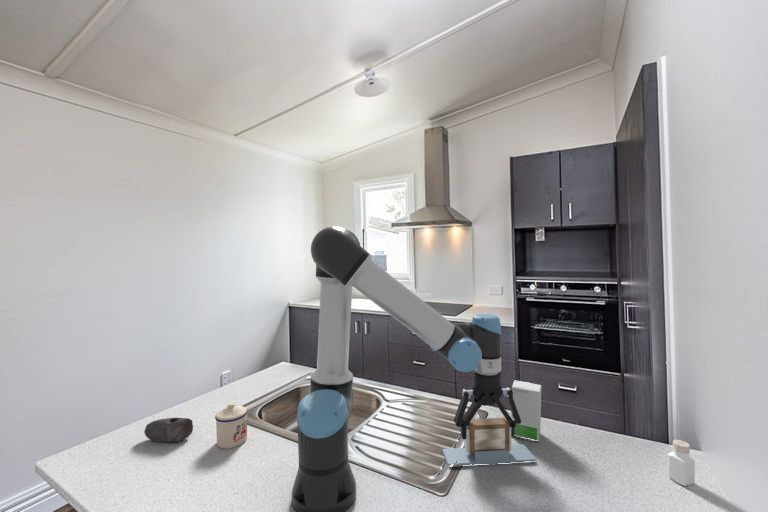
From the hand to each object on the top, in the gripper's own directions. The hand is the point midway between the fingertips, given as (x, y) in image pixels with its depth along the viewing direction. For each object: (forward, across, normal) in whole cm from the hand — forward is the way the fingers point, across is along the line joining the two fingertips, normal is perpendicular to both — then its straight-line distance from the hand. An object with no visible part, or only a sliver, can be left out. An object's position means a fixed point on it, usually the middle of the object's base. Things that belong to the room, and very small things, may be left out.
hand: (487, 448), depth 98 cm
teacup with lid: (+3, -75, +16) cm, 77 cm away
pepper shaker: (+3, +44, -14) cm, 46 cm away
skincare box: (+3, +16, +10) cm, 19 cm away
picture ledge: (+3, 0, 0) cm, 3 cm away
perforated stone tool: (+3, -96, +18) cm, 98 cm away
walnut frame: (0, 0, 0) cm, 0 cm away
